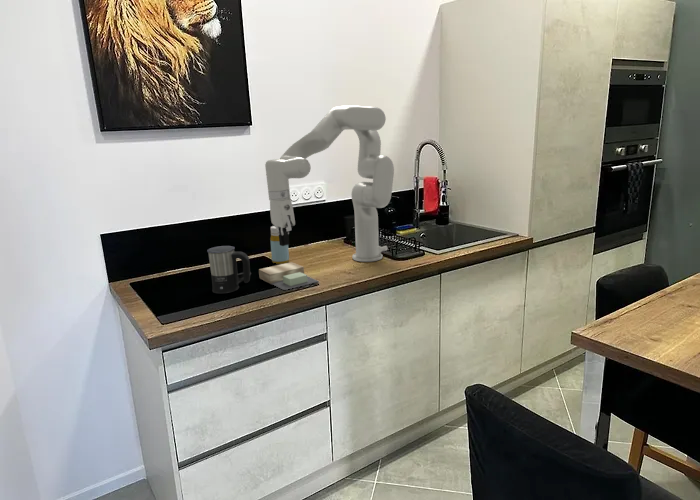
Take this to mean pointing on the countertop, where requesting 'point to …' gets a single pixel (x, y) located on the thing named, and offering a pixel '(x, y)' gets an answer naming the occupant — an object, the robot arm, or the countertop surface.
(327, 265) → the countertop surface
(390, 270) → the countertop surface
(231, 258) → the milk frother
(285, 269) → the birch board
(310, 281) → the rubber mat
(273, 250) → the bottle
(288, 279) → the green block
